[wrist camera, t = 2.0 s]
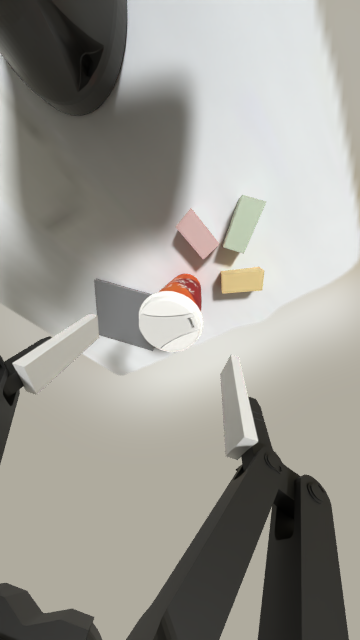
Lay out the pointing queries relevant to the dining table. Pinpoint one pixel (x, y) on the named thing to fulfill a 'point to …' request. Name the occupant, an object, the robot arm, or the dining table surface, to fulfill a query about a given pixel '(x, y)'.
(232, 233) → the sage brick
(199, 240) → the rose brick
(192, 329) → the paper cup
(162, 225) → the dining table surface
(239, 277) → the ochre brick
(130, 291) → the slate mat
